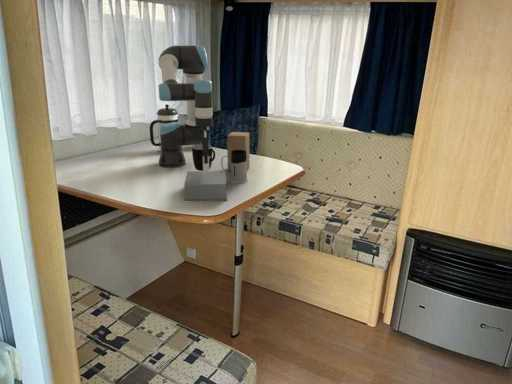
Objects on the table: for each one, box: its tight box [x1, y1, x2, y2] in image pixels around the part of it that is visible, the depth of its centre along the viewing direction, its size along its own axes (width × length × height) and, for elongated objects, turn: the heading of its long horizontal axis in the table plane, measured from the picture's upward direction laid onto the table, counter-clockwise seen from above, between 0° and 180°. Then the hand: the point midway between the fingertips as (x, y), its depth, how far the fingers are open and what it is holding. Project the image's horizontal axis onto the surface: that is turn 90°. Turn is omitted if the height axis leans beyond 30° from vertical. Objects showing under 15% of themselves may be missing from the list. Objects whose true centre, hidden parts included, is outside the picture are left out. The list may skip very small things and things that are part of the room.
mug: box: [191, 145, 216, 171], centre depth 186 cm, size 12×9×10 cm
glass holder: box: [220, 150, 249, 184], centre depth 206 cm, size 9×14×15 cm, turn 122°
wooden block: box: [226, 131, 250, 173], centre depth 224 cm, size 10×10×20 cm
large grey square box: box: [183, 170, 228, 202], centre depth 190 cm, size 21×19×8 cm
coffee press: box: [149, 103, 179, 153], centre depth 259 cm, size 17×16×30 cm
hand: (205, 167), depth 187 cm, fingers closed on mug, 9 cm apart
